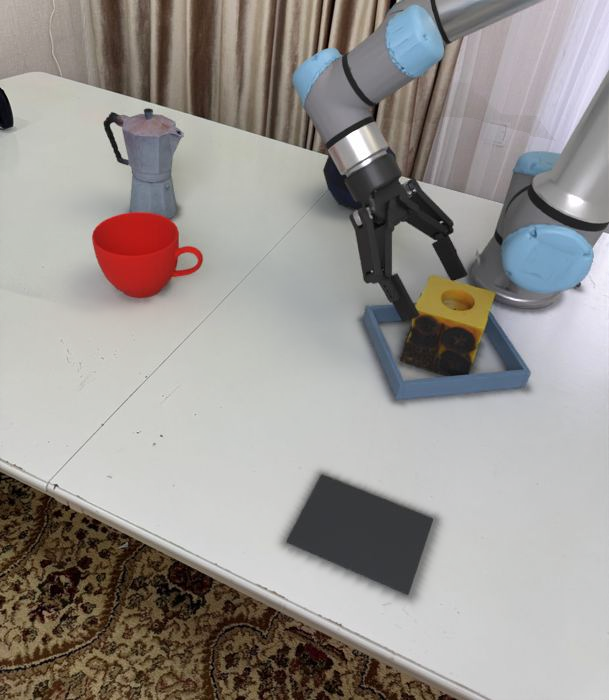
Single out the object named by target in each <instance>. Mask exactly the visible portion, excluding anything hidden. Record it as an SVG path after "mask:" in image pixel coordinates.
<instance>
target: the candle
mask: <svg viewBox="0 0 609 700" xmlns="http://www.w3.org/2000/svg"><path fill="white" fill-rule="evenodd" d="M494 297H495V292H493V291H490V290H486V289H482V288H478V287H476V286H475V285H471V284H468V283H464V282H460V281H457V280H455V281H452V280H450V279H448V278H445V277H442V276H438V275H436V274H430V275H429V276H428V278H427V283H426V285H425V287H424V289H423V291H422V292H421V293H420V296H419V298H418V300H417V301H416V302H415V303H416V305H415V307H416V309H417V311H418V313H419V314H420V315H419V316H418V317H416V318H413V319H412V320H411V326H410V328H409V331H408V332H407V335H406V338H405V340H404V344H403V349H402V352H401V355H400V359H399V360H400V362H401V363H406V364H407V365H411V366H414V367H416V368H420V369H424V370H426V371H429V372H434V373H436V374H440V375H442V376H446V377H447V376H458V375H469V374H470V372H471V370H472V367H473V365H474V362H475V357H476V355H477V352H478V348H479V345H480V343H481V339H482V337H483V335H484V333H485V332H484V329H485V326H486V323H487V320H488V317H489V310H490V311H491V309H492V305H493V303H494V301H495V300H494Z"/></svg>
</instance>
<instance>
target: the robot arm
mask: <svg viewBox="0 0 609 700" xmlns="http://www.w3.org/2000/svg"><path fill="white" fill-rule="evenodd" d="M542 2H545V0H399V1H397V2H396V3H394V5H393V6H392V7H391V8H390V9H389V10H388V12H387V14H386V15H385V18H384V19H383V20H382V21H381V23H380V24H378V25H379V26H377V28H376V29H375V31H373V32H372V33H371V34H370V35H368V36H367V37H366V38H365V39H364V40H362V41H361V42H359V43H358V44H357V45H356V46H354V48H352V49H351V50H350V51H348V52H347V53H345V54H341V53H340V51H339V50H338V49H337V48H335V47H328V48H325V49H323V50H320V51H318V52H317V53H315V54H314V55H312V56H311V57H309V58H307V59H306V60H305V61H303V62H302V63H301V64H300V65H299V66H297V68H296V69H295V71H294V73H293V74H292V85H293V87H294V89H295V92H296V93H297V95H298V98H299V100H300V102H301V105H302V106H301V107H302V109H303V110H304V111H305V112H306V114H307V116H308V117H309V119H310V121H311V123H312V124H313V126H314V128H315V130H316V132H317V134H318V136H319V137H320V139H321V141H322V142H323V144H324V147H325V148H326V150H327V152H328V154H329V153H330V155H331V157H332V159H333V161H334V163H335V165H336V166H337V168H338V170H339V172H340V174H341V175H345V174H346V176H347V178H346V179H345V184H346V186H347V188H348V190H349V192H350V193H351V195H352V197H353V199H354V200H355V201H356V202H359V201H360V202H361V203H362V206H363V207H362V208H360V209H359V210H354V212H351V213H349V220H350V223H351V225H352V227H353V229H354V232H355V238H356V244H357V249H358V256H359V260H360V267H361V273H362V279H363V282H364V283H365V284H372V285H376V284H379V286H380V288H381V290H382V292H383V293H384V296H385V297H386V299H387V300H388V302H389V303H391V304H393V305H394V307H395V309H396V311H397V313H398V314H399V316H400V318H401V320H402V321H401V322H402V323H404V322H407V320H408V321H411V320H410V319H413V318H416V317H418V316H419V315H420V314H419V313H418V311H417V309H416V307H415V305H414V303H415V302H413V301H414V300H413V299H412V297H411V296H410V294H409V292H408V290H407V289H406V287H405V284H404V283H403V281H402V279H401V277H400V275H399V273H397V272H396V273H395V274H393V232H394V231H395V227H396V226H398V225H399V224H401V223H407V224H409V225H410V226H412V228H414V229H416V230H418V231H420V232H421V233H423V234H424V235H426V236H427V237H428V238H430V239H432V240H434V241H433V242H432V243H431V245H432V247H433V249H434V251H435V253H436V256H437V257H438V259H439V261H440V263H441V265H442V267H443V269H444V271H445V273H446V274H447V276H448V278H449V280H452V281H457V280H461V279H463V278H466V277H467V276H468V274H469V273H468V271H467V270H466V268H465V266H464V264H463V262H462V260H461V258H460V256H459V255H458V252H457V248H456V247H455V244H454V243H453V241H452V239H451V237H450V235H451V234H453V233H454V232H455V231H454V221H453V220H452V218H451V217H450V216H448V215H447V213H445V211H444V210H443V209H442V208H441V207H440V206H438V204H437V203H436V202H435V201H433V199H432V198H431V197H430V196H429V195H428V194H427V193H426V192H425V191H424V190H423V189H422V187H421V185H420V184H419V182H418V181H417V179H416V178H414V177H412V178H410V179H409V180H407V181H405V182H404V183H401V182H400V179H401V177H402V175H403V172H402V171H401V168H400V167H399V164H398V163H397V160H396V161H395V159H394V157H393V155H392V154H390V153H388V154H387V152H386V150H387V149H388V146H389V144H388V142H387V140H386V139H385V136H384V135H383V133H382V131H381V130H380V128H379V126H378V124H377V121H376V120H375V117H373V115H372V112H371V110H370V109H372V108H373V107H376V106H377V105H378V104H380V102H382V101H383V100H385V99H387V98H388V97H390V96H392V95H393V94H394V93H396V92H397V91H400V89H402V88H404V86H406V85H408V84H409V83H411V82H412V81H414V80H416V79H417V78H419V77H423V76H424V75H426V73H427V71H428V70H429V69H431V68H432V67H434V66H435V65H436V64H437V63H439V62H440V61H441V60H442V59H443V57H444V54H445V47H446V46H447V45H449V44H452V43H453V42H456V41H458V40H460V39H462V38H464V37H467V36H469V35H471V34H474V33H475V32H478V31H480V30H482V29H485V28H487V27H489V26H491V25H493V24H495V23H498V22H500V21H502V20H505V19H506V18H509V17H511V16H513V15H515V14H517V13H520V12H522V11H524V10H527V9H529V8H531V7H534V6H535V5H537V4H540V3H542ZM511 172H512V175H511V179H510V181H509V184H508V185H509V186H508V188H507V192H506V195H505V198H504V202H503V203H502V204H503V205H502V207H501V211H500V214H499V217H498V221H497V223H496V227H495V230H494V234H493V236H492V238H491V239H490V240H489V242H488V243H487V245H486V246H485V247H484V248H483V250H482V251H481V253H480V254H479V251H478V249H476V250H475V257H476V259H474V262H473V265H472V268H471V272H470V277H471V281H472V283H473V286H474V287H478V288H482V289H486V290H490V291H493V292H495V297H494V300H493V301H495V302H496V303H498V304H501V305H504V306H509V307H512V308H516V309H517V308H518V309H523V310H524V309H527V310H535V309H541V308H546V307H548V306H550V305H553V304H554V303H555V302H556V301H557V300H558V298H559V296H560V294H561V292H566V291H568V290H571V289H572V288H574V287H576V288H580V287H581V286H582V283H581V282H582V281H583V280H584V279H586V278H587V276H588V274H589V272H590V271H591V268H592V265H593V263H594V258H595V253H594V247H595V245H596V244H597V242H598V241H599V239H600V238H601V237H602V235H603V233H604V232H605V231H606V229H607V228H608V226H609V69H608V71H606V74H605V76H604V77H603V79H602V81H601V83H600V84H599V85H598V88H597V90H596V91H595V93H594V95H593V96H592V99H591V100H590V102H589V104H588V105H587V107H586V109H585V110H584V112H583V114H582V116H581V118H580V119H579V121H578V123H577V125H576V126H575V128H574V129H573V131H572V133H571V135H570V137H569V138H568V140H567V142H566V144H565V145H564V147H563V149H562V151H561V153H560V152H559V153H558V152H553V151H544V150H536V151H535V150H534V151H528V152H525V153H523V154H521V155H520V156H519V157H518V158H517V160H516V163H515V165H514V168H513V169H512V171H511Z"/></svg>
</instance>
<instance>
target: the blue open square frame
mask: <svg viewBox="0 0 609 700" xmlns="http://www.w3.org/2000/svg"><path fill="white" fill-rule="evenodd" d="M413 303H414V305H416V303H417V302H413ZM407 321H408V322H409V321H412V319H410V320H407ZM407 321H406V322H407ZM362 322H363V324H364V327H365V329H366V332H367V334H368V336H369V339H370V341H371V343H372V346H373V348H374V351H375V353H376V355H377V358H378V360H379V362H380V366H381V367H382V370H383V372H384V374H385V376H386V379H387V381H388V384H389V386H390V389H391V391H392V393H393V396H394V398H395V400H396V401H403V400H404V401H405V400H414V399H422V398H433V397H443V396H454V395H462V394H463V395H464V394H473V393H481V392H482V393H483V392H491V391H503V390H511V389H512V390H513V389H522V388H523V389H524V388H526V386H527V384H528V382H529V379H530V376H531V374H532V371H531V370H530V368H529V366H528V365H527V364H526V362H525V361H524V360H523V358H522V356H521V355H520V353H519V351H517V349H516V348H515V346H514V344H513V343H512V341H511V340H510V339H509V337H508V336H507V334H506V332H505V331H504V329H503V327H502V326H501V325H500V324H499V322H498V320H497V319H496V317H495V316H494V314H493V313H492V312H491V309H490V310H489V317H488V320H487V323H486V326H485V329H484V332H483V333H484V334H485V335H486V336H487V338H488V340H489V342H490V344H491V345H492V346H493V347H494V349H495V351H496V352H497V354H498V355H499V357H500V358H501V360H502V362H503V363H504V365H505V367H506V368H507V370H502V371H492V372H491V371H489V372H481V373H469V375H458V376H447V375H446V376H438V377H427V378H418V379H406V380H404V379H403V376H402V374H401V372H400V370H399V367H398V365H397V362H396V361H395V358H394V356H393V354H392V352H391V350H390V346H389V345H388V342H387V341H386V338H385V335H384V334H383V331H382V329H381V326H380V325H379V323H394V322H395V323H396V322H402V320H401V318H400V316H399V314H398V313H397V311H396V309H395V307H394V305H393V303H391V304H390V303H389V304H376V305H375V304H374V305H365V307H364V312H363V319H362Z"/></svg>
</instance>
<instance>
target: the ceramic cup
mask: <svg viewBox="0 0 609 700" xmlns="http://www.w3.org/2000/svg"><path fill="white" fill-rule="evenodd" d="M179 234H180V233H179V229H178V226H177V225H176V223H175V222H173V221H172V220H171V219H168V218H166V217H163V216H161V215H157V214H153V213H145V212H134V213H130V212H126V213H121V214H116V215H113V216H111V217H109V218H106V219H104V220H103V221H101V222H100V223H98V224H97V225H96V226H95V228H94V229H93V231H92V235H91V241H92V246H93V251H94V254H95V258H96V260H97V264H98V266H99V268H100V270H101V272H102V274H103V275H104V277H105V279H106V280H107V281H108V282H109V283H110V284H111V285H112V286H113V287H115V288H116V289H117V290H118V291H120V292H122V293H123V294H125V295H126V296H128V297H130V298H135V299H146V298H151V297H153V296H156V295H157V294H159V293H160V292H161V291H162V290H163V288H165V287H166V286H167V285H168V283H169V282H170V281H171V280H172V278H176V277H177V278H178V277H184V276H189V275H192V274H194V273H196V272H197V271H198V270H199V269H200V268H201V267H202V265H203V262H204V261H203V260H204V257H203V253H202V251H200V249H199V248H198V247H196V246H192V245H185V246H182V247H180V235H179ZM186 253H188V254H193V255H194V256H195V257H196V259H197V263H196V264H194V266H193V267H190V268H185V269H177V266H178V261H179V257H180V256H181V255H182V254H186Z"/></svg>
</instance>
